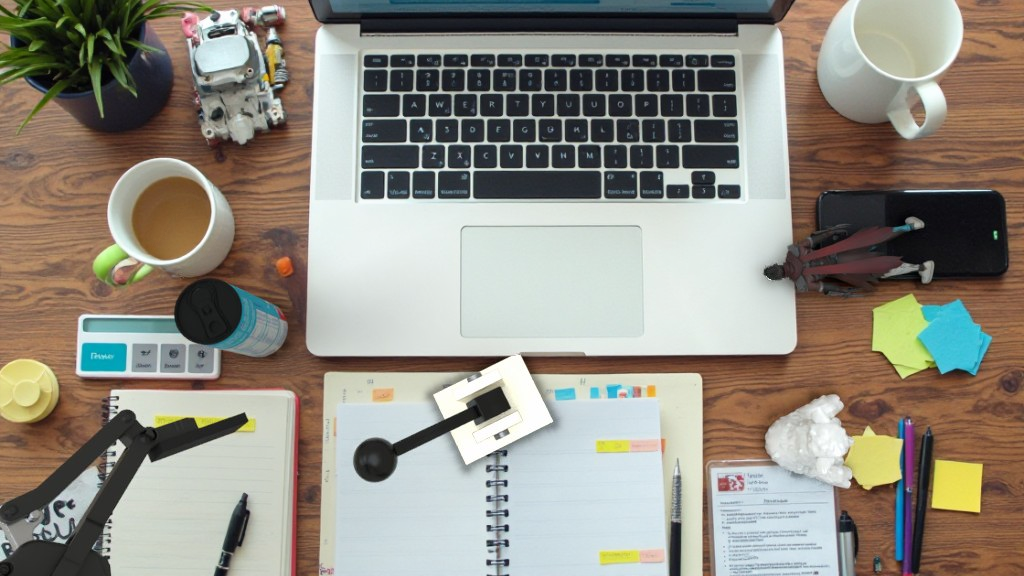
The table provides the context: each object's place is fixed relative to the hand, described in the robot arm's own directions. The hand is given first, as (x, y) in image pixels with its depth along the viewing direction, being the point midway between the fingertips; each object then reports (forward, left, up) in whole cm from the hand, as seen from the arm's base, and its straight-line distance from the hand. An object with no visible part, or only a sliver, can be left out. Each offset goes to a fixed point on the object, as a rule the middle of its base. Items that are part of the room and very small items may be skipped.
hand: (275, 505), depth 57 cm
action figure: (+25, -51, -23) cm, 61 cm away
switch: (+5, -10, -9) cm, 14 cm away
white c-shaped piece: (+8, -15, -22) cm, 28 cm away
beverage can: (+15, +10, -23) cm, 29 cm away
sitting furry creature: (+6, -47, -23) cm, 53 cm away
